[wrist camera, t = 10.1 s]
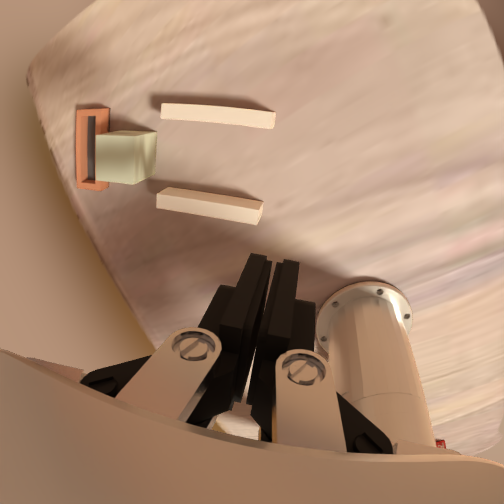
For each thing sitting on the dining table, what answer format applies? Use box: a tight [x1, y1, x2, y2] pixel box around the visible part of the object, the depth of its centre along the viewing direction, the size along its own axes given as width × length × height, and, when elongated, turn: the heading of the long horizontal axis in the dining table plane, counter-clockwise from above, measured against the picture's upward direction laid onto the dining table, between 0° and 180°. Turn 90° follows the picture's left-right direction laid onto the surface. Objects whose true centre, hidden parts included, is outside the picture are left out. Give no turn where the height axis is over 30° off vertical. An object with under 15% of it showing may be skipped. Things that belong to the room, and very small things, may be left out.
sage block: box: [96, 130, 157, 185], centre depth 31 cm, size 5×5×5 cm
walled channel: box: [157, 103, 276, 225], centre depth 31 cm, size 11×11×3 cm
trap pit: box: [76, 108, 110, 191], centre depth 33 cm, size 10×4×2 cm, turn 173°
